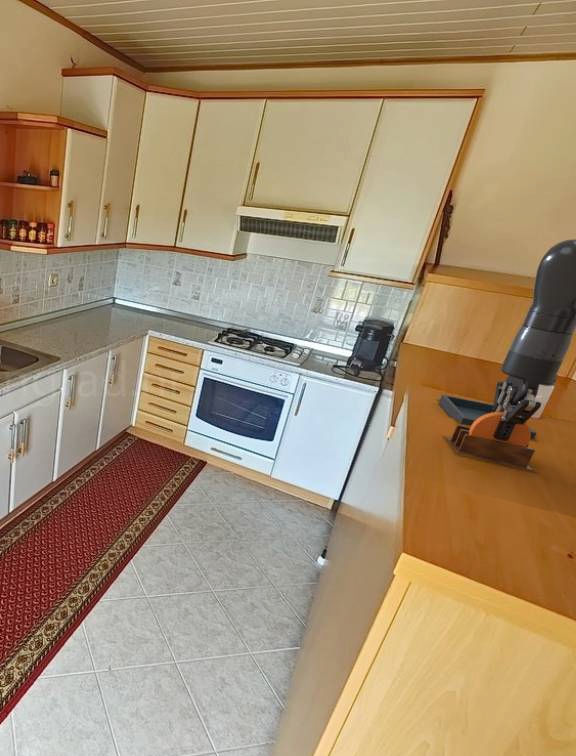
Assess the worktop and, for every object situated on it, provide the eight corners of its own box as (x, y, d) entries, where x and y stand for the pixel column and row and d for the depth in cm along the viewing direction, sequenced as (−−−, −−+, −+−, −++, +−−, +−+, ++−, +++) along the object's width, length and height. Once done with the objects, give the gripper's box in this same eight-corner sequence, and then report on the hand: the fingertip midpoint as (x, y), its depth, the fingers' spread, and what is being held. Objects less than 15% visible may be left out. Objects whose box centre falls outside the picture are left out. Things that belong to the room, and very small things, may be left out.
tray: (501, 416, 123) (505, 406, 122) (531, 443, 108) (536, 433, 107) (438, 403, 128) (442, 394, 127) (458, 427, 113) (463, 417, 112)
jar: (511, 418, 122) (532, 373, 118) (486, 406, 130) (505, 363, 126) (547, 422, 122) (569, 377, 118) (520, 409, 130) (540, 367, 126)
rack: (512, 456, 100) (522, 436, 99) (531, 476, 92) (542, 454, 91) (443, 440, 104) (451, 421, 103) (456, 458, 97) (465, 437, 95)
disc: (516, 459, 96) (535, 418, 93) (519, 463, 95) (539, 421, 91) (461, 447, 99) (478, 406, 96) (463, 450, 98) (481, 409, 95)
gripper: (582, 366, 82) (537, 457, 88) (544, 348, 94) (507, 429, 100) (526, 357, 85) (486, 445, 91) (497, 341, 97) (463, 420, 103)
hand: (497, 436), depth 95 cm, fingers closed on disc, 1 cm apart
